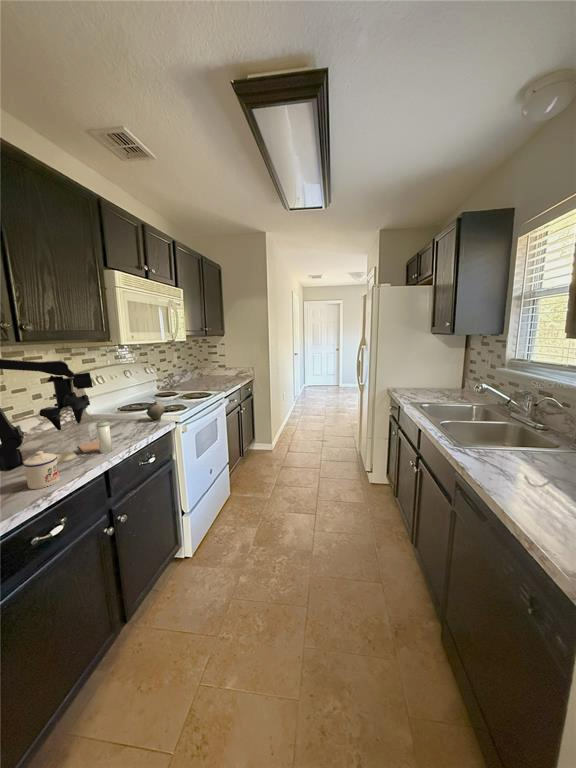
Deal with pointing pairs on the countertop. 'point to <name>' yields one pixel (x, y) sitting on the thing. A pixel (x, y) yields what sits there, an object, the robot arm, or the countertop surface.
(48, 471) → the teacup with lid
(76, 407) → the robot arm
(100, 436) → the spice jar
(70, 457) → the mat
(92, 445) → the mat
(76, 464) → the countertop surface
